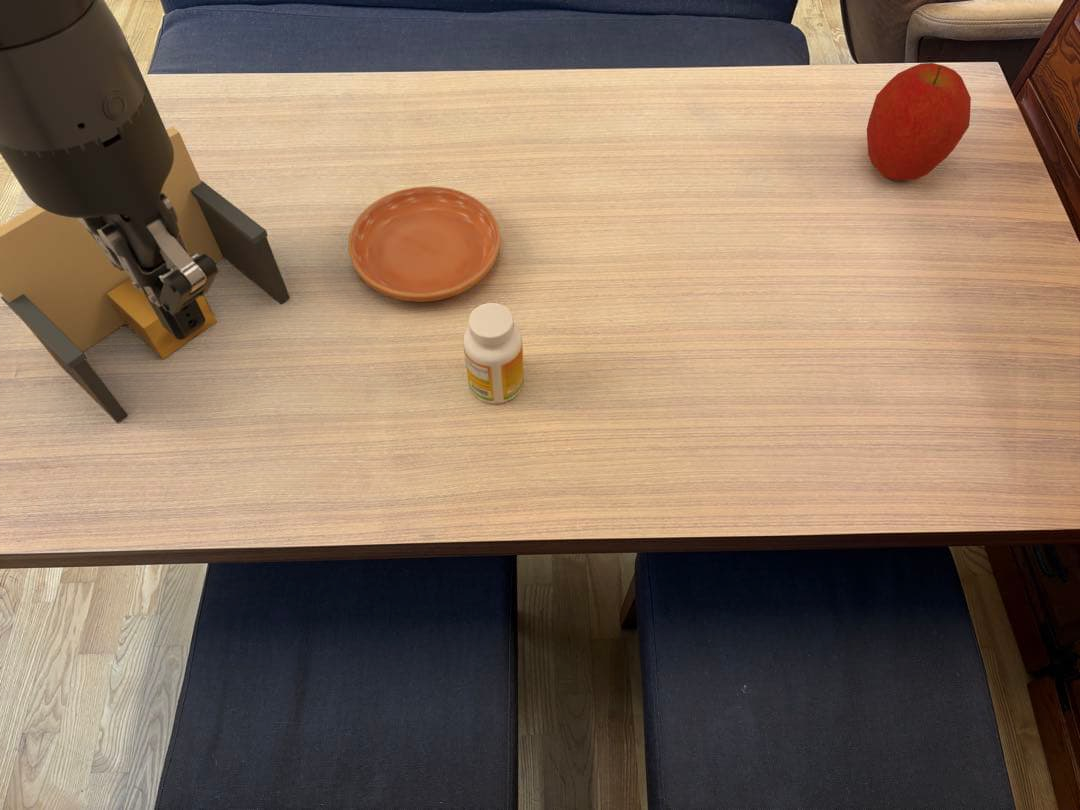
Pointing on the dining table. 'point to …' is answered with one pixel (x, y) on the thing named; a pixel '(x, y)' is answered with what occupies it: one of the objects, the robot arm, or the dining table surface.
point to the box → (152, 319)
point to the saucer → (424, 243)
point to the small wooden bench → (115, 269)
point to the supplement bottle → (493, 354)
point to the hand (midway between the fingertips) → (186, 326)
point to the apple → (917, 121)
